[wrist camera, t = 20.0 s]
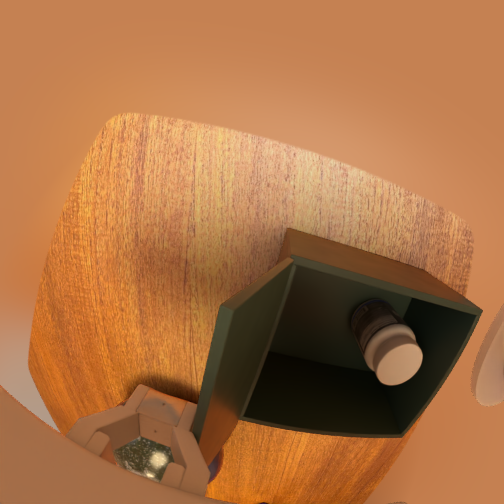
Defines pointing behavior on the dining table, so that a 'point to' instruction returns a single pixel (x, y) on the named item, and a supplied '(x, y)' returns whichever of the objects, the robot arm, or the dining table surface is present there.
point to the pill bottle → (386, 342)
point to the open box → (352, 343)
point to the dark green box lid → (236, 357)
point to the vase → (154, 458)
